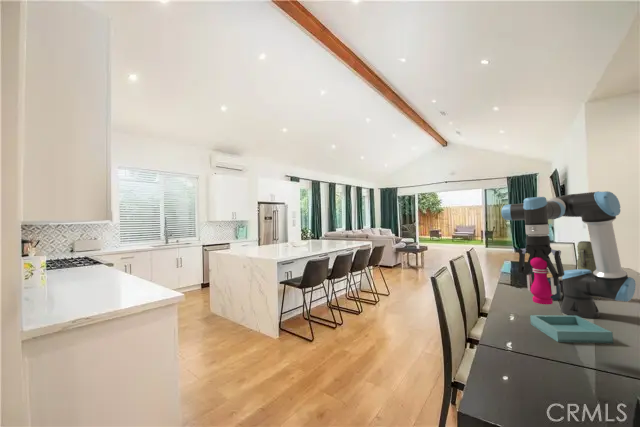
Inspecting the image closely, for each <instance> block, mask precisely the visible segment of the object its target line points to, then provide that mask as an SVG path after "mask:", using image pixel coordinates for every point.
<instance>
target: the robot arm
mask: <svg viewBox="0 0 640 427" xmlns="http://www.w3.org/2000/svg"><path fill="white" fill-rule="evenodd" d="M620 214H621V204H620V201H619V198H618V197H617V196H616V194H614V193H613V192H611V191H608V190H607V191H591V192H579V193H573V194H572V193H571V194H565V195H561V196H556V197H551V198H549V199H548V198H546V197H545V196H535V197H526V198H524V199H523V203H522V202H521V203H514V204H513V203H510V204H504V205H503V206H502V207H501V216H502V218H503V219H504V220H505V221H524V224H525V225H524V226H525V227H524V228H525V235H526V237H525V240H526V247H525V248H519V249H518V250H517V251H518V254H519V255H518V256H519V257H518V270H517V271H518V272H519V273H521V274H523V277H524V278H523V279H524V282H525V283H526V284H527V291H528V292H531V285H532V283H533V279H532V273H531V269H532V268H533V267H532V266H531V264H530V261H531V260H532V259H533V258H534V257H541V258H543V260H544V261H546V262H547V269H548V271H549V273H551V274H552V276H553V277H551V290H552V294H553V295H555V294H556V293H557V292H556V286H558V285H560V281H559V280H560V277H561V279H562V290H563V298H562V302H561V305H560V311H561V313H563V314H566V315H569V316H579V317H581V318H583V319H585V318H586V319H596V318H599V317H600V311H599V308H598V307H597V306H598V305H596V303H595V300H593V296H595V297H599V299H600V298H601V299H607V300H612V301H616V302H617V301H619V302H630V301H631V300H632V299H633V297H634V295H635V291H636V285H637V284H636V280H635V278H633V277H631V276H628V272H627V270H626V271H625V269H622V266H621V260H620V259H621V258H620V255H619V254H620V253H619V250H618V245H617V240H616V235H615V230H614V225H613V222H614V221H615V220H616V219H617V216H619V215H620ZM562 217H565V218H566V217H567V218H569V217H570V218H581V222H583V223H585V224H586V225H587V231H588V235H589V239H590V240H589V241H590V242H591V245H592V250H593V255H594V259H595V264H596V270H595V271H594V272H593V273H592V272H591V270H587V269H578V268H577V269H576V268H575V269H565V270H564V266H563V263H562V258H561V254H562V251H561V250H559V249H553V248H552V247H551V241H550V240H551V239H550V238H551V237H550V236H549V234H550V225H549V220H556V219H560V218H562ZM526 253H528V254H529V257H528V259H527V263H525V261H526ZM551 253H552V256H554V257H553V258H554V263H555V266H556V268H555V266H554V264H553V262H552V259H551V257H550V256H549V255H550V254H551ZM525 264H526V265H525Z"/></svg>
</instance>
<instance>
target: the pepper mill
mask: <svg viewBox="0 0 640 427" xmlns="http://www.w3.org/2000/svg"><path fill="white" fill-rule="evenodd" d="M530 264H531V266H532V267H531V269H532V273H533V280H532V285H531V291H530V293H531V294H532V295H533V296H532V302H533V303H535V304H537V305H538V304H539V305H553V301H554V300H552V298H550V297H551V296H552V295H553V294H552V290H551V285H550V284H549V282H548V279H547V273H548V271H549V268H548V267H547V262H546V261H544V260H543V258H541V257H534V258H533V259H532V260H531V261H530Z"/></svg>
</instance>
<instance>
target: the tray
mask: <svg viewBox="0 0 640 427" xmlns="http://www.w3.org/2000/svg"><path fill="white" fill-rule="evenodd" d="M529 317H530V318H529V319H530V325H532V326H533V327H534V328H535V329H537V330H539V331H540V332H542V333H543V334H545V335H546V336H547V337H549V338H551V339H552V340H554V341H556V342H557V343H578V344H579V343H580V344H583V343H584V344H585V343H586V344H588V343H589V344H614V336H613V332H612V331H611V330H609V329H606V328H604V327H602V326H600V325H597V324H596V323H593V322H591V321H589V320H586V319H585V318H583V317H579V316H572V315H568V314H566V315H557V314H555V315H554V314H553V315H549V314H547V315H546V314H545V315H543V314H534V315H532V314H530V316H529Z"/></svg>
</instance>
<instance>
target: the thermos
mask: <svg viewBox="0 0 640 427" xmlns="http://www.w3.org/2000/svg"><path fill="white" fill-rule="evenodd" d="M576 250H577V255H578V256H577V260H576V263H577V264H576V265H577V269H587V270H591V272H592V273H593V272H594V271H595V270H596V264H595V259H594V255H593V250H592V245H591V240H589V241H588V240H587V241H586V240H584V241H583V240H582V241H578V242H577V249H576ZM593 300H594V301H595V300H600V297H595V296H593Z"/></svg>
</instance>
